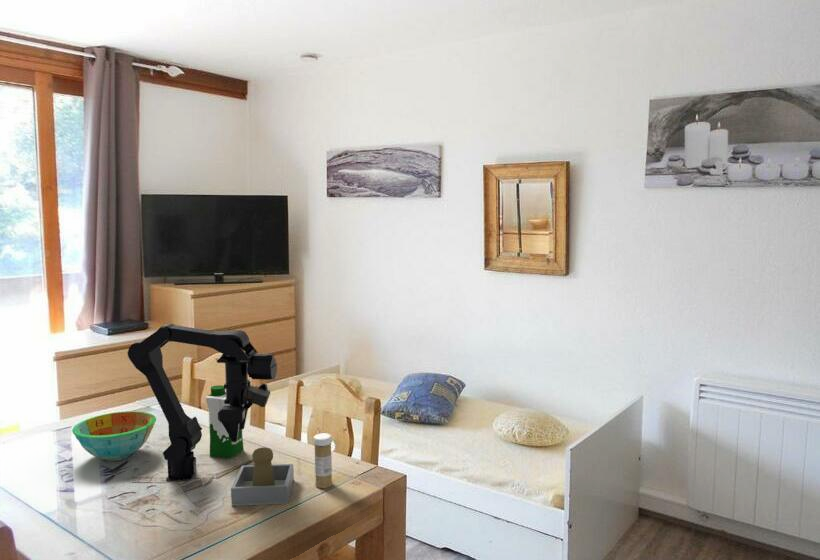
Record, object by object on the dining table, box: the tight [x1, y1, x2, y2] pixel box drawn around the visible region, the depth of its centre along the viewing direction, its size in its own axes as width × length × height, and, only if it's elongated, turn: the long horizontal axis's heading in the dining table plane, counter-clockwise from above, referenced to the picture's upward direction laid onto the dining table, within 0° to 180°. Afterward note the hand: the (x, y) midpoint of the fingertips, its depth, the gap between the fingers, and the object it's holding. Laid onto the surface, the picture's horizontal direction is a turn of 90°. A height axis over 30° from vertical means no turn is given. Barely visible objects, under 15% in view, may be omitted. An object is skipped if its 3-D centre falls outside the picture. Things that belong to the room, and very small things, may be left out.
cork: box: [251, 446, 275, 486], centre depth 162 cm, size 6×6×11 cm
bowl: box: [71, 410, 157, 462], centre depth 186 cm, size 22×22×10 cm
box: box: [230, 463, 295, 507], centre depth 162 cm, size 14×14×4 cm
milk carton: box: [204, 384, 245, 460], centre depth 187 cm, size 9×9×20 cm
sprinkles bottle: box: [313, 432, 333, 489], centre depth 166 cm, size 5×5×13 cm
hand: (238, 435), depth 170 cm, fingers open, 9 cm apart
